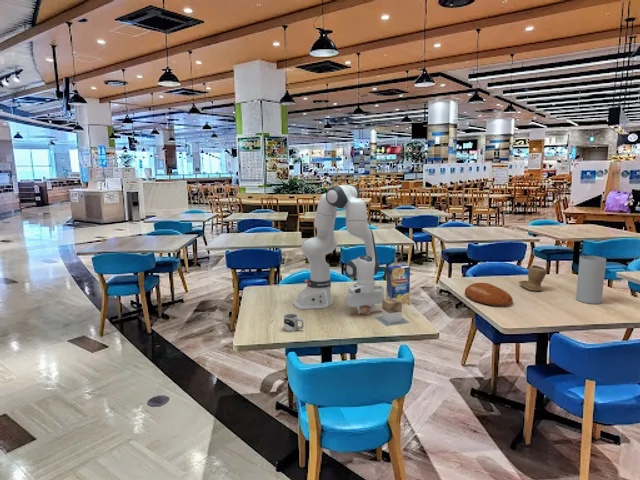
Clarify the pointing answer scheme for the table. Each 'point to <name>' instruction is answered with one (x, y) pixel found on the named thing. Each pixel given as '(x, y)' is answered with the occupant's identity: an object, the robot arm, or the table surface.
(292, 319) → the mug
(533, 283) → the brown boot
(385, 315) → the grey tower block
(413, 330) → the table surface
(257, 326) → the table surface
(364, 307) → the brown rounded knob
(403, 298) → the beverage box
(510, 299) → the bread
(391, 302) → the tan wooden block
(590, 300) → the cylinder vase
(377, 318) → the blue-grey board
